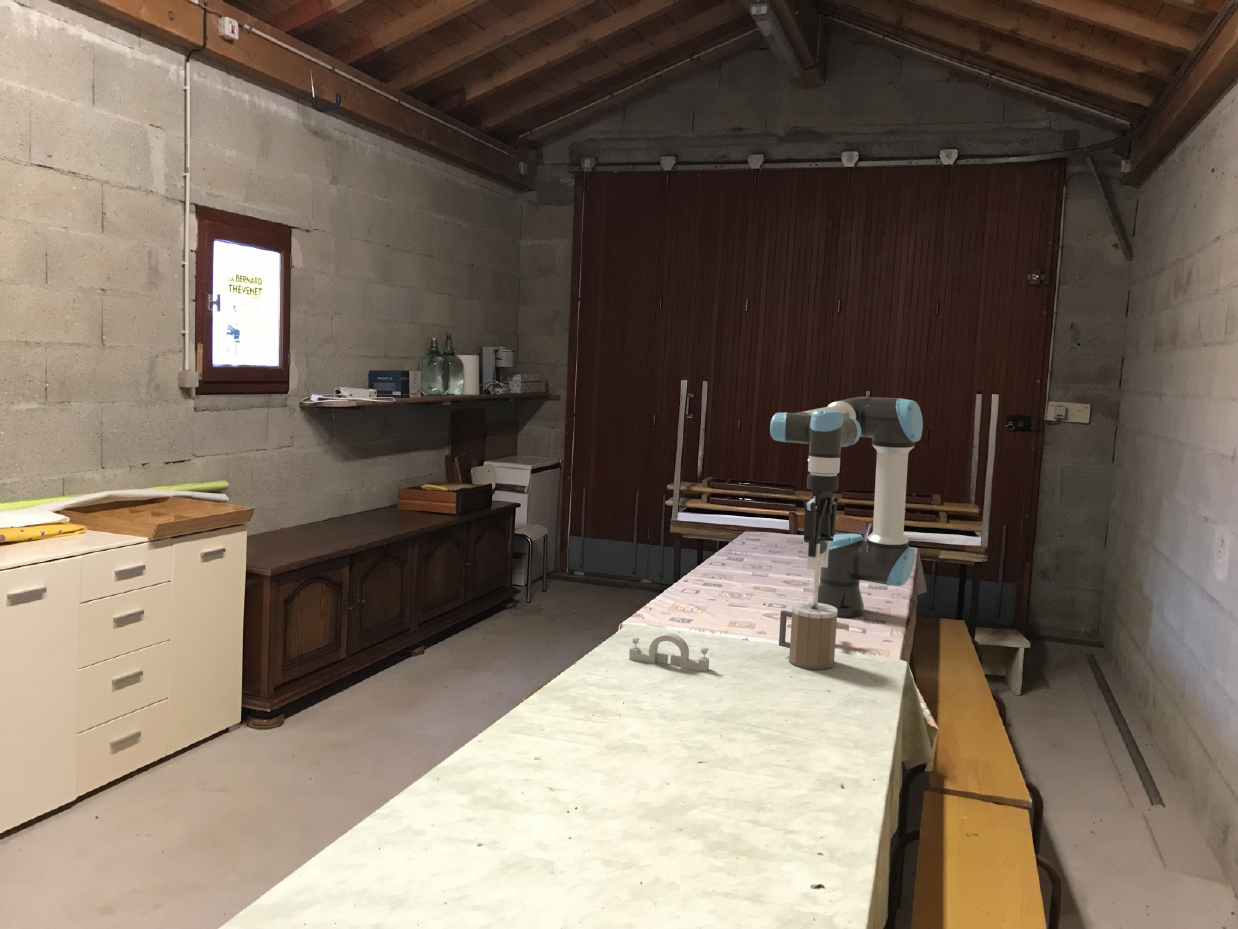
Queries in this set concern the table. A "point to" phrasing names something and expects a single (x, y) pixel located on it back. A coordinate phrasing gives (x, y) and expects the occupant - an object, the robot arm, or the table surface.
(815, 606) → the plunger
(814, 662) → the wooden mug
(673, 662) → the gateway
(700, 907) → the table surface
